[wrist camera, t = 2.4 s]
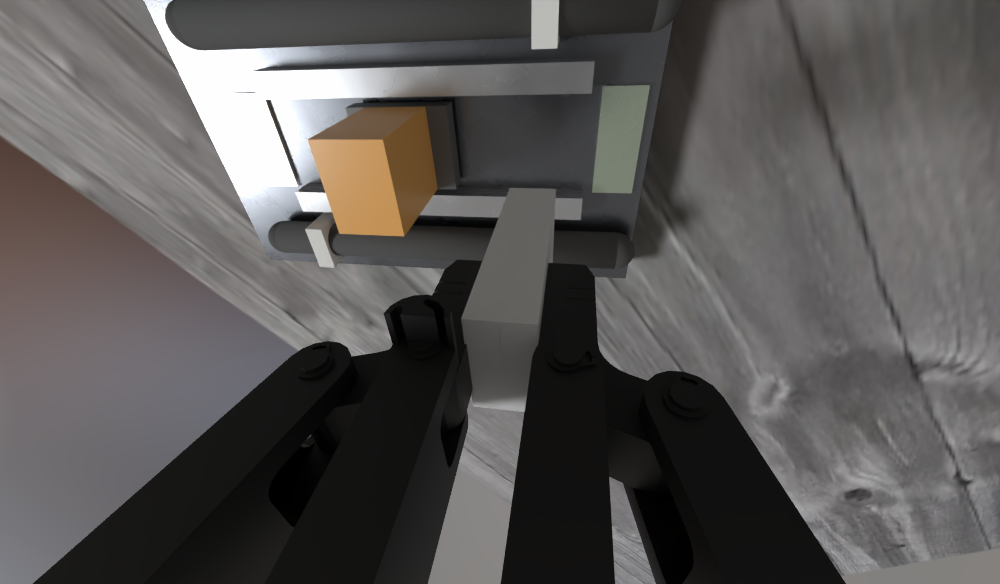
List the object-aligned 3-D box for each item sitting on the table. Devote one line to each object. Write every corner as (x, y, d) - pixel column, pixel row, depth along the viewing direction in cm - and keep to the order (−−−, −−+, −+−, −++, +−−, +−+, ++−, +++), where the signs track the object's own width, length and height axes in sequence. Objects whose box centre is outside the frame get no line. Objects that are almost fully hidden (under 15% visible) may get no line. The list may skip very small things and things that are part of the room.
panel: (161, -39, 19) (97, -44, 16) (681, -83, 15) (701, -96, 13) (286, 244, 29) (259, 269, 26) (622, 260, 25) (627, 290, 23)
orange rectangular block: (354, 102, 19) (283, 139, 15) (451, 101, 19) (409, 139, 14) (374, 180, 22) (318, 233, 17) (460, 181, 21) (426, 237, 16)
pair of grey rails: (180, -11, 18) (134, -10, 16) (684, -45, 15) (699, -50, 13) (291, 244, 26) (268, 263, 24) (628, 259, 23) (632, 283, 21)
